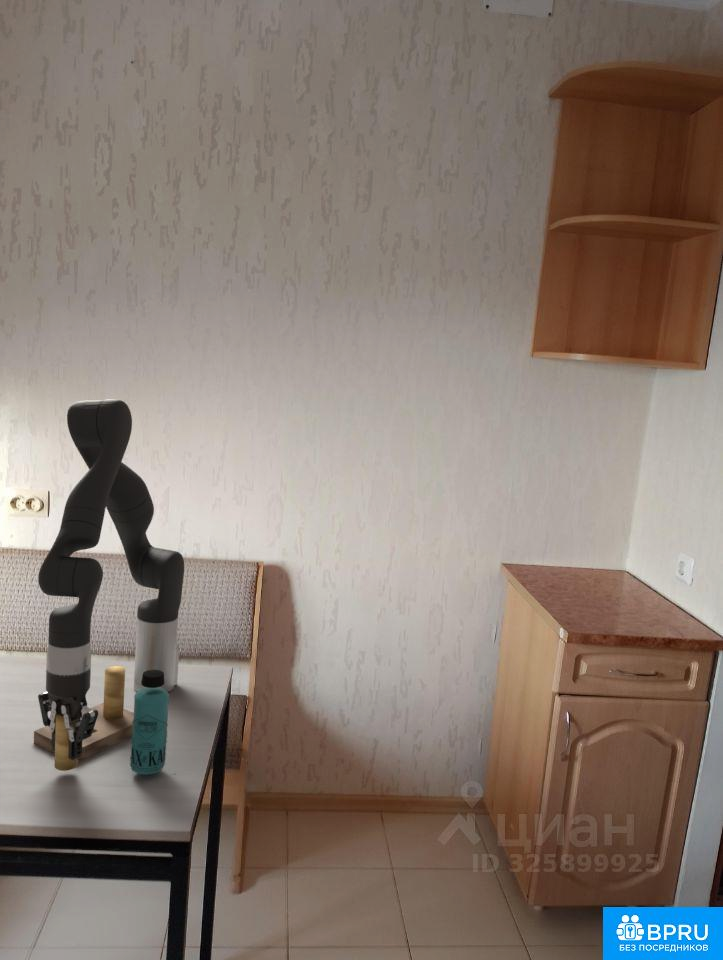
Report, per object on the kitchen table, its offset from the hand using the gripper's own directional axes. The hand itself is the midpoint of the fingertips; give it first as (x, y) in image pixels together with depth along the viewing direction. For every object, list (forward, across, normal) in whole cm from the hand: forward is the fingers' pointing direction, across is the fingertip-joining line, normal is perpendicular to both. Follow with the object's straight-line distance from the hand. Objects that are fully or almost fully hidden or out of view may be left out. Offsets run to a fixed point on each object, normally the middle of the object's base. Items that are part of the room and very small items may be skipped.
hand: (66, 753), depth 145 cm
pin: (+2, 0, 0) cm, 2 cm away
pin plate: (+4, +8, -13) cm, 16 cm away
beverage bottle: (+4, -11, -10) cm, 15 cm away
